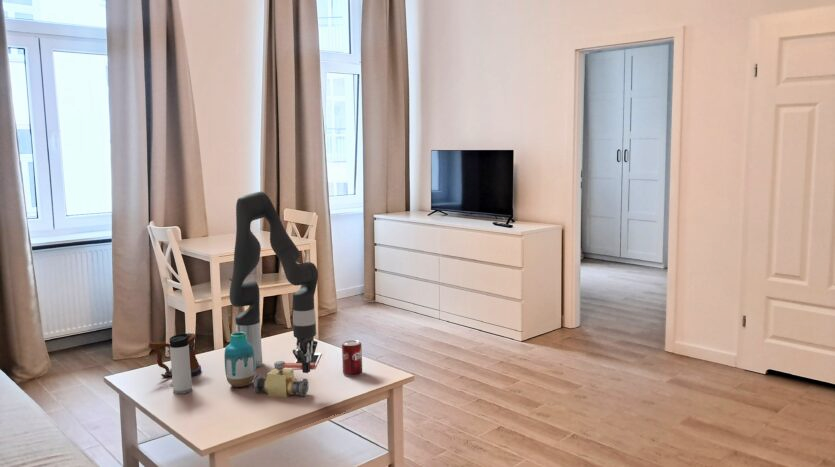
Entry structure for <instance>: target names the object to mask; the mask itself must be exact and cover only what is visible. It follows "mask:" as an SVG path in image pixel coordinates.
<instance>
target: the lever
mask: <svg viewBox="0 0 835 467" xmlns="http://www.w3.org/2000/svg"><path fill="white" fill-rule="evenodd" d="M274 368H275V369H292V368H301V369H300V370H302V363H295V362H285V361H282V360H281V361H275V362H274ZM314 368H315V369H316V367H315V363H310V370H315V369H314Z"/></svg>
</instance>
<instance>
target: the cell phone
mask: <svg viewBox="0 0 835 467" xmlns="http://www.w3.org/2000/svg"><path fill="white" fill-rule="evenodd" d="M321 356H322V353H321V352H315V354H314V357H313V358H311V361H310V363H315V368H314V369H313V370H315V369H316V368H317V365H318V362H319V360H320V358H321ZM294 363H302V362H298V360H297V359H296V360H295V361H294ZM291 369H293V371H294V370H295V371H296V370H302V369H301V368H291Z"/></svg>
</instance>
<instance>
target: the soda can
mask: <svg viewBox="0 0 835 467" xmlns="http://www.w3.org/2000/svg"><path fill="white" fill-rule="evenodd" d="M362 345H363V344H362V342H361V341H359V340H356V339H349V340H345V341H343V342H342V344H341V354H342V356H341V357H342V360H341V361H342V373H343V375H344V376H345V377H352V378H353V377H358V376H360V375H362V374H363V350H362Z"/></svg>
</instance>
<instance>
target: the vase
mask: <svg viewBox="0 0 835 467" xmlns="http://www.w3.org/2000/svg"><path fill="white" fill-rule="evenodd" d="M223 358H224V369H225V370H224V371H225V376H226V380H227V383H228V384H229V385H231V386H232V387H235V388H242V387H246V386H249V385H251V384H252V383H254V379H255V377H256V368H255V353H254V348H253V345H252V344H251V343H249V342H247V338H246V333H245V332H233V333H231V334H230V343H229V344H228V345H226V346H225V349H224V357H223Z"/></svg>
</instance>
